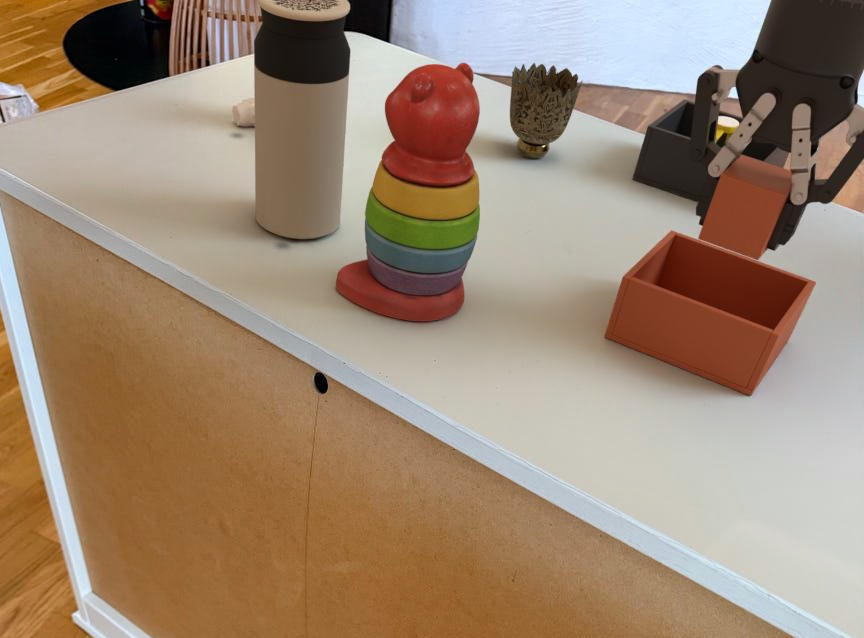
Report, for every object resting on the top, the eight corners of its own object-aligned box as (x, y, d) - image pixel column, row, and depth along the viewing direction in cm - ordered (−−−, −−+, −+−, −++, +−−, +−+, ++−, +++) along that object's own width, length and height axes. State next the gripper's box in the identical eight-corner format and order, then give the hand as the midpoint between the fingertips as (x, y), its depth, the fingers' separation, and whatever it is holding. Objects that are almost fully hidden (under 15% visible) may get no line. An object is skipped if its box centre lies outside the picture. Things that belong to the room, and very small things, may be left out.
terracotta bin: (788, 340, 82) (816, 281, 77) (750, 396, 75) (779, 335, 71) (651, 288, 85) (671, 229, 81) (603, 337, 79) (622, 276, 75)
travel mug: (357, 226, 88) (373, 5, 74) (297, 250, 83) (303, 21, 70) (298, 195, 91) (304, -22, 77) (238, 217, 87) (232, -9, 73)
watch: (711, 167, 105) (731, 110, 100) (732, 176, 103) (753, 119, 99) (681, 179, 102) (701, 121, 97) (702, 188, 100) (723, 130, 96)
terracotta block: (776, 238, 74) (803, 174, 70) (757, 260, 71) (785, 195, 68) (718, 218, 76) (741, 154, 72) (697, 239, 73) (721, 173, 69)
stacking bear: (416, 253, 85) (444, 34, 72) (493, 302, 81) (538, 78, 67) (325, 284, 80) (337, 53, 67) (402, 338, 76) (431, 102, 62)
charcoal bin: (776, 185, 104) (797, 134, 100) (745, 218, 98) (767, 164, 93) (668, 150, 108) (684, 99, 104) (632, 179, 101) (647, 125, 97)
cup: (493, 138, 105) (507, 59, 99) (555, 142, 106) (572, 64, 100) (506, 166, 100) (521, 85, 94) (570, 169, 102) (589, 89, 96)
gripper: (960, -2, 61) (838, 248, 73) (752, -55, 65) (671, 191, 78) (939, 21, 56) (814, 283, 69) (718, -37, 60) (638, 220, 73)
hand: (739, 233), depth 73 cm, fingers closed on terracotta block, 5 cm apart
